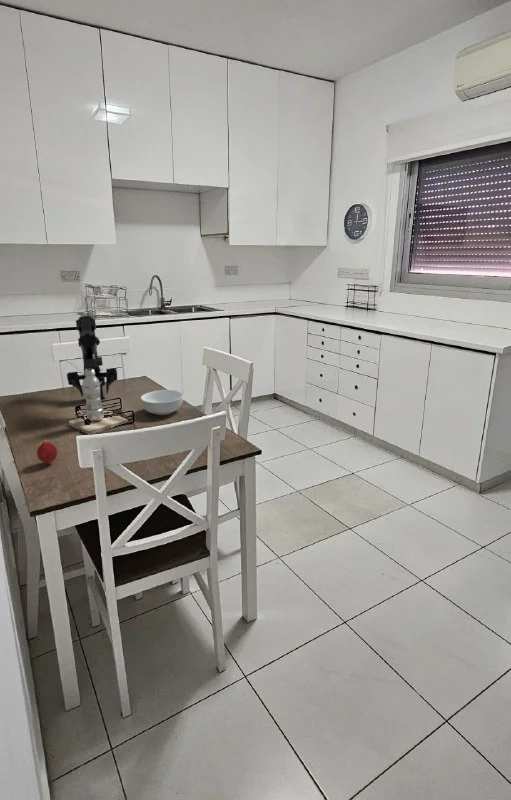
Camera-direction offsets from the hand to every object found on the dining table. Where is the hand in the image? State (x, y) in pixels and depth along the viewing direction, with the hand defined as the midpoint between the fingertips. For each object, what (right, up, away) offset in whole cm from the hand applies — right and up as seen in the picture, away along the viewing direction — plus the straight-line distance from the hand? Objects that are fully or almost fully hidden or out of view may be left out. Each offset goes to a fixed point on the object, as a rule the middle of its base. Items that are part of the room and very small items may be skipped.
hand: (95, 394), depth 182 cm
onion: (-2, -22, -36) cm, 42 cm away
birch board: (+2, -11, -3) cm, 12 cm away
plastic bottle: (+1, -10, -3) cm, 10 cm away
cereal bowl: (+25, -7, +9) cm, 28 cm away
